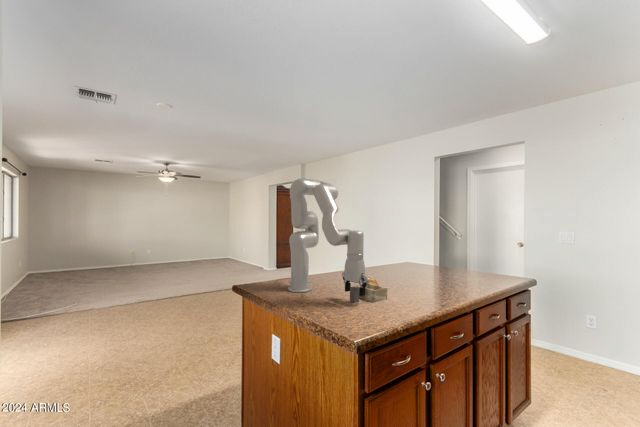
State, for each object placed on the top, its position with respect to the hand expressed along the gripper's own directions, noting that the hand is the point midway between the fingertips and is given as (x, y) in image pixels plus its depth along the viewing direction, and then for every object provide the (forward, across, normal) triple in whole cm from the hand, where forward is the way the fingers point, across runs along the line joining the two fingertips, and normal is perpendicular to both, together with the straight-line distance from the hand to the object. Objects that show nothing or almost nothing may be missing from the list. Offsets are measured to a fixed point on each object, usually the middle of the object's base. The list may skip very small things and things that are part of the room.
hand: (354, 293), depth 150 cm
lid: (+5, 0, 0) cm, 5 cm away
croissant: (+5, -13, +23) cm, 27 cm away
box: (+4, 0, +12) cm, 12 cm away
